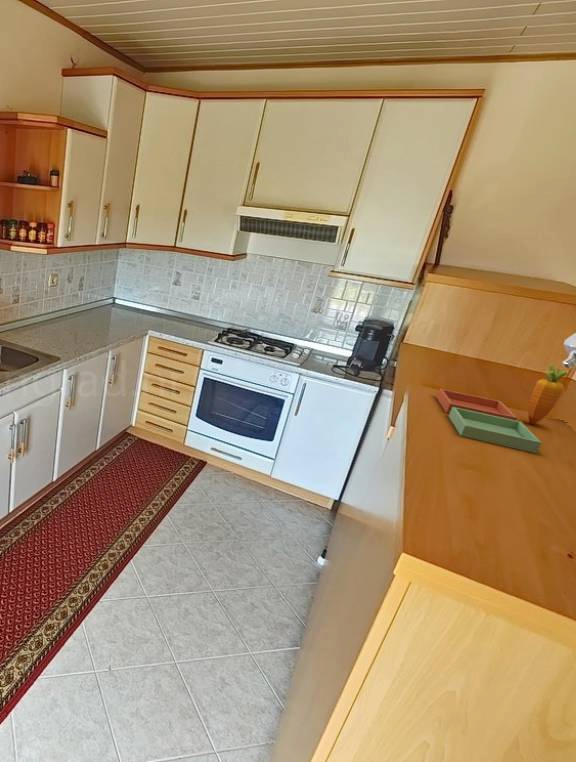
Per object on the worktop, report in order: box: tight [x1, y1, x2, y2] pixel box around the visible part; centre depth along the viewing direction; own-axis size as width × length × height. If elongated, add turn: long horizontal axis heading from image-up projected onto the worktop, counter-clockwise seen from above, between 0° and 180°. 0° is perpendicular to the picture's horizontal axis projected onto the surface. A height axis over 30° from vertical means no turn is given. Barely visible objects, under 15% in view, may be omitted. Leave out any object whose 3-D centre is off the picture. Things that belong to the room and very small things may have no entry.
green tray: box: [448, 407, 542, 454], centre depth 110 cm, size 13×13×3 cm
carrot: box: [527, 364, 569, 425], centre depth 117 cm, size 5×5×15 cm
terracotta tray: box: [436, 388, 518, 421], centre depth 124 cm, size 13×13×3 cm
